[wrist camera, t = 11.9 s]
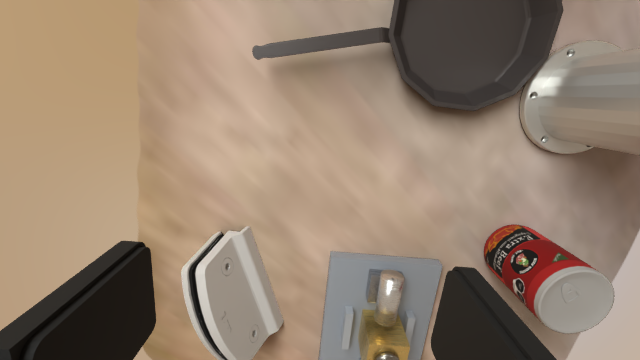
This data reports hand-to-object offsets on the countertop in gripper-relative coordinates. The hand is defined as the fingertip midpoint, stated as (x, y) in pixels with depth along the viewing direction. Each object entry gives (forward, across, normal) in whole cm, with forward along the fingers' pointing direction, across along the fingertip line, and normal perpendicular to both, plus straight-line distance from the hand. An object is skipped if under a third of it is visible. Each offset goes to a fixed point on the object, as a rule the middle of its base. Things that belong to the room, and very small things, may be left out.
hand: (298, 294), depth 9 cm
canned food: (+28, -28, +12) cm, 42 cm away
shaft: (+28, -11, +18) cm, 35 cm away
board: (+28, -11, +25) cm, 39 cm away
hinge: (+29, +9, +20) cm, 36 cm away
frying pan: (+29, -9, -13) cm, 33 cm away
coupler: (+27, -11, +25) cm, 38 cm away
